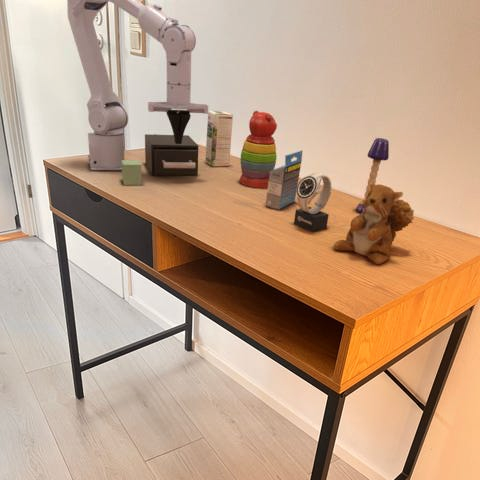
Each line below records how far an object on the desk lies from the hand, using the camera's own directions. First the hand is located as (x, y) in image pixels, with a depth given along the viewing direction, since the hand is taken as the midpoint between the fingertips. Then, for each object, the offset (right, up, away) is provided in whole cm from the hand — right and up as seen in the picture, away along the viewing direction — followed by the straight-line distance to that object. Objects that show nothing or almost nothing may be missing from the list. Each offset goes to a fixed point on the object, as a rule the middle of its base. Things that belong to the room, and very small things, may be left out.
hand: (178, 143), depth 124 cm
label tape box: (+25, -17, -7) cm, 31 cm away
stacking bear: (+20, -8, +8) cm, 23 cm away
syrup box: (+9, +2, +22) cm, 24 cm away
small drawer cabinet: (-4, -3, +13) cm, 14 cm away
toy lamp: (+46, -19, -7) cm, 50 cm away
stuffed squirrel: (+41, -31, -28) cm, 59 cm away
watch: (+31, -25, -19) cm, 44 cm away
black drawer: (-2, -4, +9) cm, 10 cm away
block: (-11, -10, -1) cm, 15 cm away
